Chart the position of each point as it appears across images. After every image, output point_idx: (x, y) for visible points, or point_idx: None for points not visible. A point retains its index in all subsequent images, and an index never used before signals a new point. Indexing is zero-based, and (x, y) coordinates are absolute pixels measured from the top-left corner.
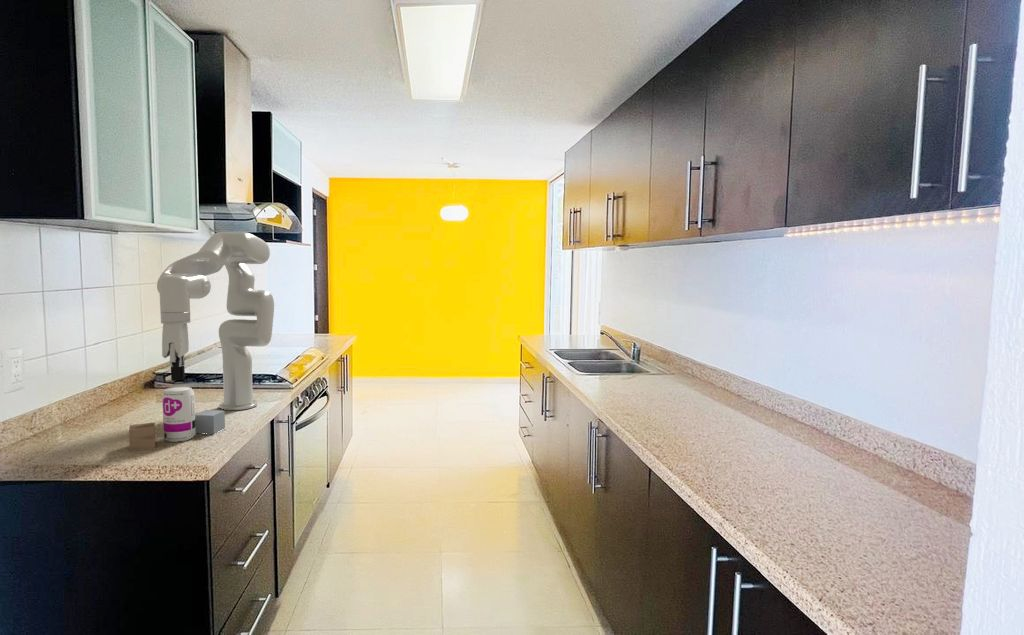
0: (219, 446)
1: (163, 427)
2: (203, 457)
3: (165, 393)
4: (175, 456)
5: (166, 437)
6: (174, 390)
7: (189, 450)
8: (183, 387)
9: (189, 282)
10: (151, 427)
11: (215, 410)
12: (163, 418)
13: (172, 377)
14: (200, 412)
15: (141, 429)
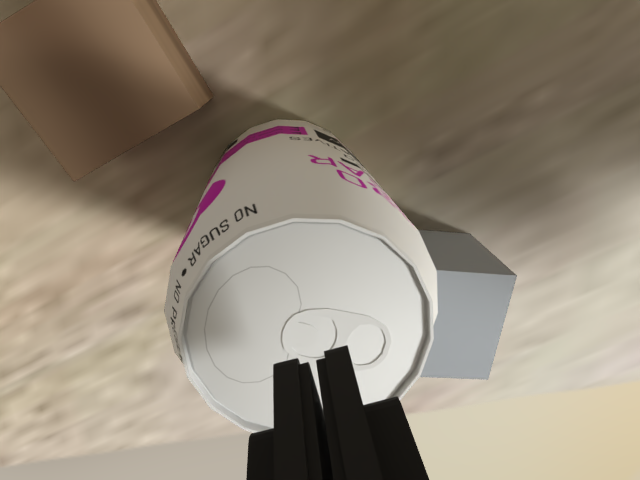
0: (182, 416)
1: (248, 137)
2: (29, 426)
3: (194, 261)
4: (13, 316)
5: (217, 163)
6: (261, 324)
7: (107, 330)
8: (409, 332)
9: None
10: (73, 161)
11: (498, 331)
12: (230, 160)
13: (279, 393)
14: (455, 272)
15: (25, 113)
